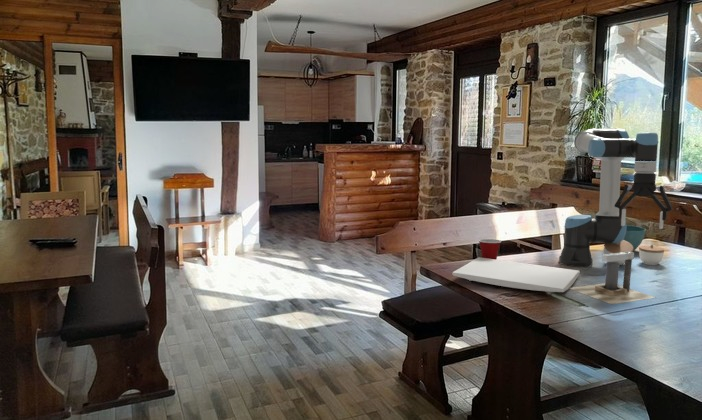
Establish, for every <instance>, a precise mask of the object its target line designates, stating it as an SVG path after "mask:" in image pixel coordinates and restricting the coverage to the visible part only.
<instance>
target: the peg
mask: <svg viewBox="0 0 702 420" xmlns="http://www.w3.org/2000/svg"><path fill="white" fill-rule="evenodd" d="M605 266H606V268H605V282H604V283H605V288H606V289H609V290H617V286H618V285H619V282H618V281H619V270H620V265H619V263H618V262H612V261H611V262H606V265H605Z"/></svg>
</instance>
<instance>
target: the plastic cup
mask: <svg viewBox="0 0 702 420" xmlns="http://www.w3.org/2000/svg"><path fill="white" fill-rule="evenodd" d="M478 242H479V247H480V253H481V258H488V259H495V260H498V253H499V250H500V246H501V243H502V240H500V239H493V238H492V239H487V238H483V239H478Z"/></svg>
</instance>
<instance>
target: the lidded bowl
mask: <svg viewBox="0 0 702 420" xmlns="http://www.w3.org/2000/svg"><path fill="white" fill-rule="evenodd" d="M603 245H604V246H603V254H612V253H621V252H626V251H628V252H634V251H633V246H632V244H631V243H629V242H627V241H625V240H622V241H621V242H620V243H612V244H610V243H603ZM612 262H618V263H619V266H622V265H625V260H620V261H612Z"/></svg>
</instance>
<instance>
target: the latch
mask: <svg viewBox="0 0 702 420" xmlns="http://www.w3.org/2000/svg"><path fill="white" fill-rule="evenodd" d="M634 257H635V252H634V251H633V252H628V251H626V252H621V253H612V254H604V253H603V254H602V255H601V261H602V262H605V263H607V262H611V261H620V260H628V259H629V260H632V261H633V260H634V259H635V258H634Z"/></svg>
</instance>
